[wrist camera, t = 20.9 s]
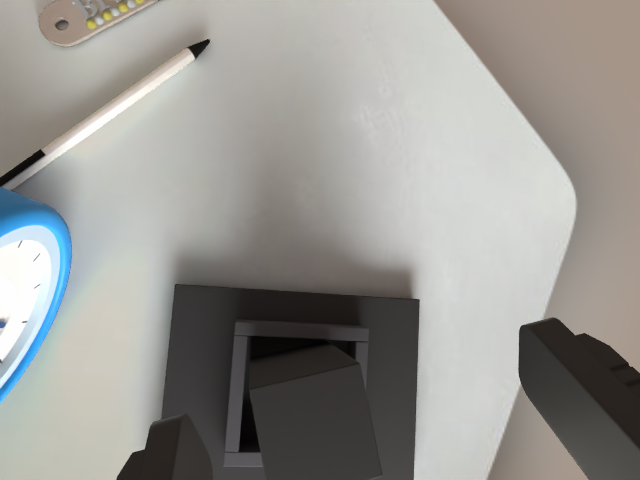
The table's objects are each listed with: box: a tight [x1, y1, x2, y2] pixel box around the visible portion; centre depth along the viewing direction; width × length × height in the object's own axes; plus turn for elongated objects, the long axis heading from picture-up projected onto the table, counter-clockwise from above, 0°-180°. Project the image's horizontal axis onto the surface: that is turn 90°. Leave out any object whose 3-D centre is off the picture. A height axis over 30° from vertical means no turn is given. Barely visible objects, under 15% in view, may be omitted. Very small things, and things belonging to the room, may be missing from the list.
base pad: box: [161, 284, 420, 480], centre depth 28 cm, size 16×12×3 cm
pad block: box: [249, 341, 383, 480], centre depth 24 cm, size 5×5×9 cm
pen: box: [0, 39, 211, 191], centre depth 29 cm, size 1×19×1 cm, turn 132°
